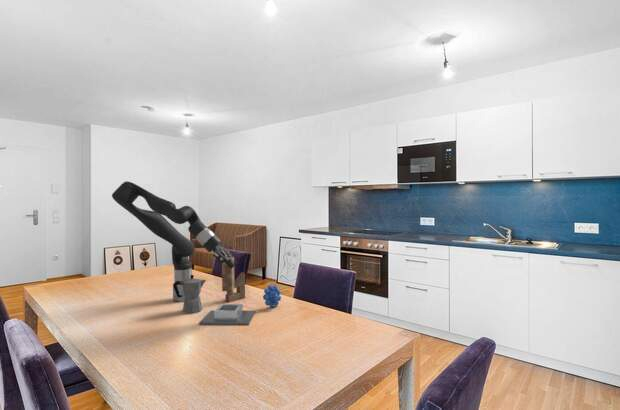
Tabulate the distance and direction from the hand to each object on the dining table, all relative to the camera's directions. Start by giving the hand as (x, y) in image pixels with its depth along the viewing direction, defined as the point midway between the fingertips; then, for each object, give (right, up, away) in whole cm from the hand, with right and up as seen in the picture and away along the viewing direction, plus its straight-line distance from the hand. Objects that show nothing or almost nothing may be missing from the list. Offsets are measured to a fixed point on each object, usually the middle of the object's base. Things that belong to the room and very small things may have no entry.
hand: (234, 265), depth 158 cm
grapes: (+16, -25, +16) cm, 34 cm away
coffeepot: (-25, -25, +12) cm, 37 cm away
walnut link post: (-3, -11, 0) cm, 12 cm away
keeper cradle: (-3, -25, +1) cm, 25 cm away
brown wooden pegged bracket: (-6, -24, +31) cm, 39 cm away
